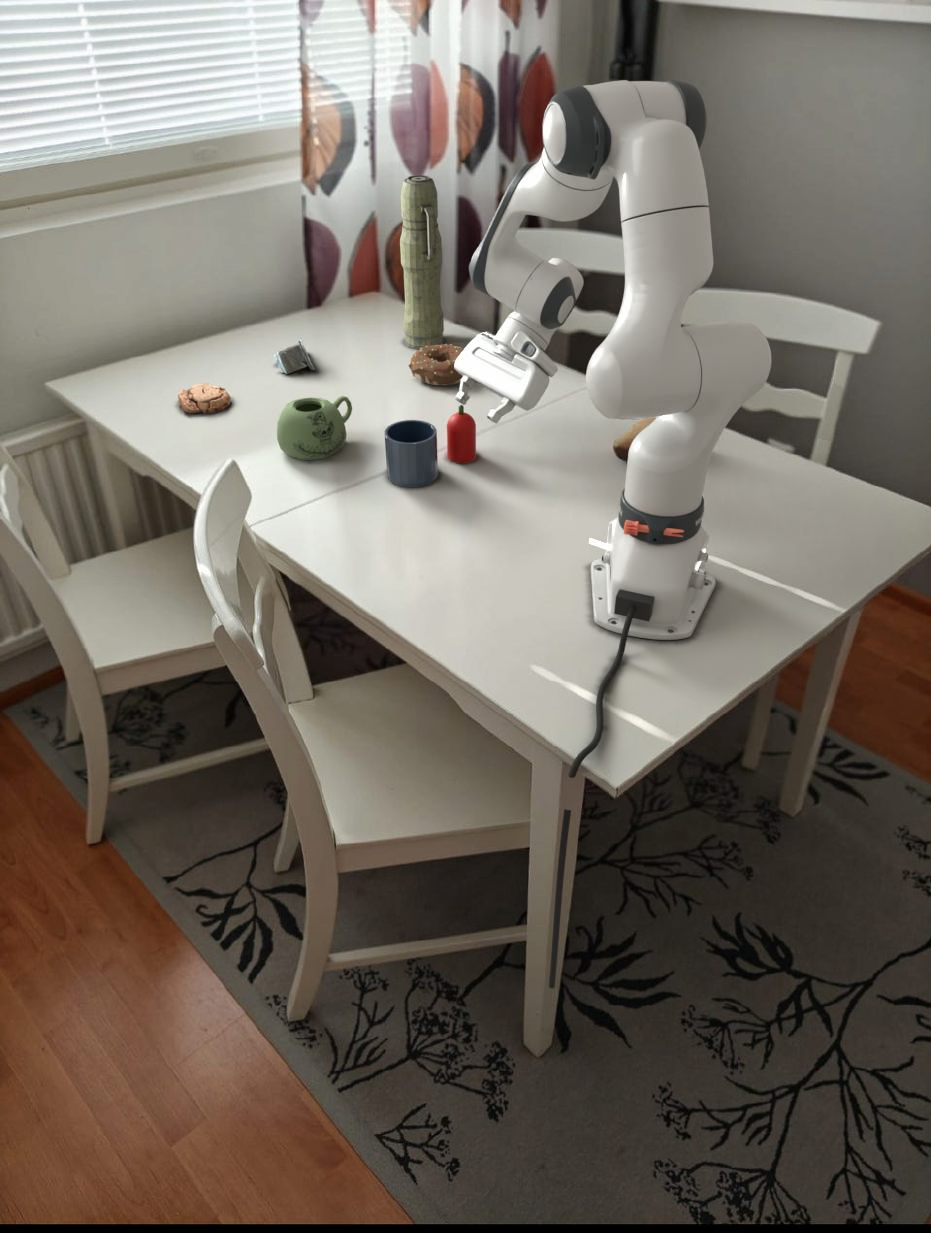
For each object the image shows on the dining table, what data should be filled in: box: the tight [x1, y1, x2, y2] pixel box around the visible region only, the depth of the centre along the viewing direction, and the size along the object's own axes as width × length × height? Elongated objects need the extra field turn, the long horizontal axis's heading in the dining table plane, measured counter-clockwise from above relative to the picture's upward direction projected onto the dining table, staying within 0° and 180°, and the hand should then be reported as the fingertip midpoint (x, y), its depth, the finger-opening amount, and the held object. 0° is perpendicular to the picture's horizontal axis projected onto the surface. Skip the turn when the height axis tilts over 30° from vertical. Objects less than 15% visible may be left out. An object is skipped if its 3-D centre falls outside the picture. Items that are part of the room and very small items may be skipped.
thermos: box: [399, 174, 445, 350], centre depth 215 cm, size 9×12×35 cm
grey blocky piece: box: [273, 337, 316, 375], centre depth 214 cm, size 10×7×12 cm
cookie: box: [177, 382, 232, 414], centre depth 200 cm, size 10×11×3 cm
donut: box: [408, 343, 465, 386], centre depth 209 cm, size 14×14×5 cm
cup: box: [384, 419, 439, 488], centre depth 175 cm, size 9×9×8 cm
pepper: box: [446, 404, 477, 464], centre depth 180 cm, size 5×5×10 cm
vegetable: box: [612, 417, 657, 461], centre depth 180 cm, size 16×11×10 cm
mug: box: [276, 395, 353, 461], centre depth 184 cm, size 16×13×9 cm
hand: (475, 411), depth 179 cm, fingers open, 8 cm apart
